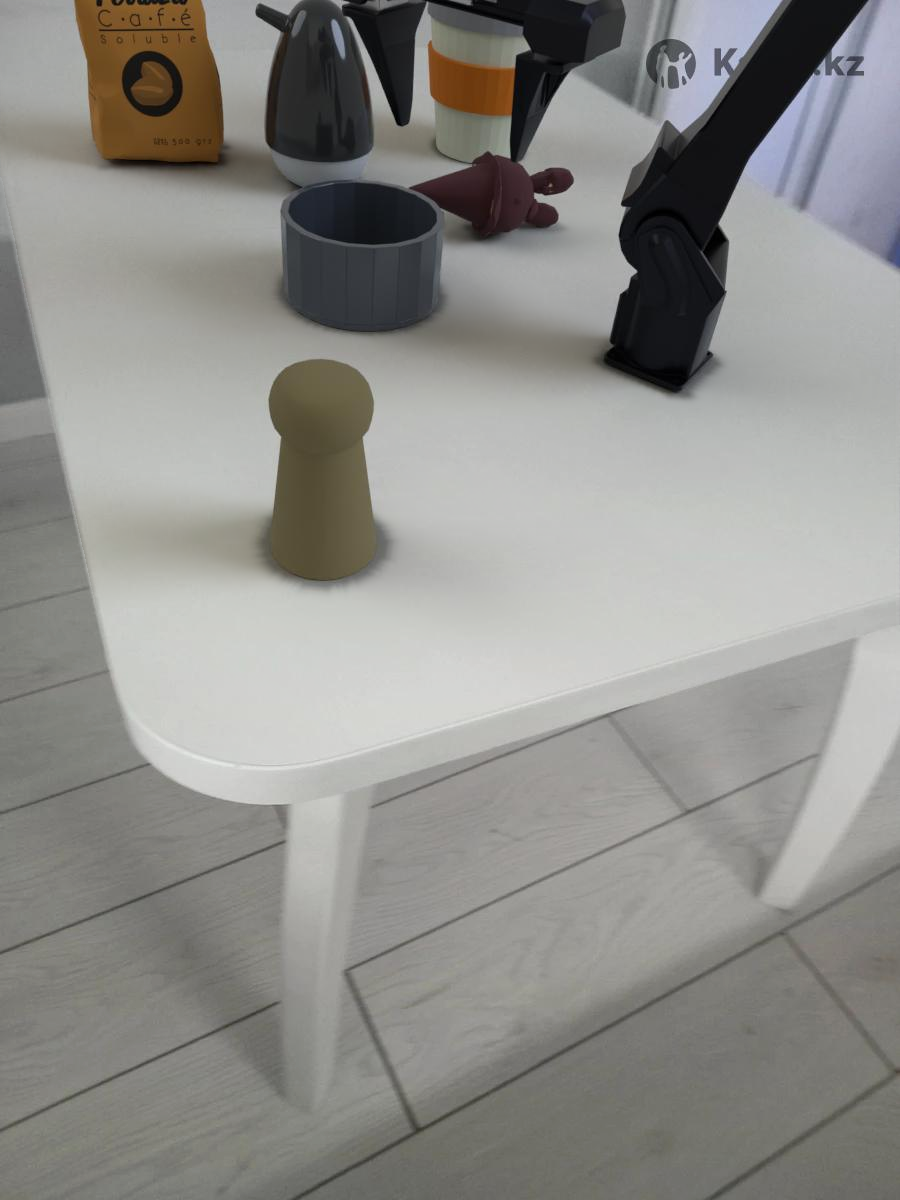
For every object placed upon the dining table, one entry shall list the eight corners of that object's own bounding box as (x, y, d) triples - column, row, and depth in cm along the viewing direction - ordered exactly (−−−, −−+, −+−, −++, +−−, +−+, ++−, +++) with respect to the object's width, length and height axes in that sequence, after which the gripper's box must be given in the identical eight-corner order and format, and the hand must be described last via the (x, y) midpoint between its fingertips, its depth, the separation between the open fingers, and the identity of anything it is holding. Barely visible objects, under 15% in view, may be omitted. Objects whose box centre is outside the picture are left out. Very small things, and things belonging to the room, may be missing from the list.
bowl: (466, 291, 75) (475, 212, 71) (375, 348, 68) (378, 264, 63) (349, 244, 80) (350, 167, 75) (252, 293, 72) (246, 210, 67)
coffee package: (228, 173, 88) (204, -114, 72) (91, 171, 86) (36, -126, 70) (225, 135, 95) (203, -135, 79) (98, 132, 92) (50, -147, 77)
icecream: (426, 181, 74) (591, 192, 79) (407, 125, 78) (566, 139, 83) (409, 252, 80) (564, 258, 85) (392, 197, 84) (542, 206, 88)
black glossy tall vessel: (266, 157, 92) (257, -23, 81) (371, 162, 93) (375, -14, 82) (262, 199, 85) (250, 8, 74) (375, 204, 86) (380, 17, 75)
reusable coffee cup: (538, 176, 94) (564, 7, 84) (416, 164, 94) (426, -8, 83) (533, 133, 103) (555, -25, 92) (421, 122, 103) (431, -38, 92)
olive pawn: (398, 551, 52) (408, 384, 45) (310, 595, 49) (305, 424, 42) (335, 496, 55) (334, 330, 48) (248, 535, 52) (233, 364, 44)
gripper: (690, -131, 54) (630, 149, 65) (425, -180, 60) (412, 83, 71) (609, -116, 47) (557, 195, 58) (318, -174, 53) (322, 117, 64)
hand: (458, 142), depth 63 cm, fingers open, 9 cm apart
